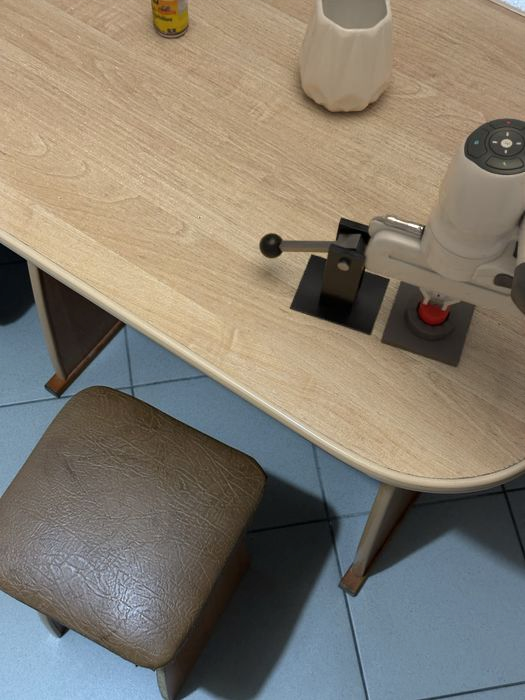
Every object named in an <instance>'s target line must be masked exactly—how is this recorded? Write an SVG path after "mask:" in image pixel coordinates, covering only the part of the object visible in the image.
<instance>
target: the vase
mask: <svg viewBox="0 0 525 700" xmlns="http://www.w3.org/2000/svg"><path fill="white" fill-rule="evenodd" d="M391 8H392V7H391V1H390V0H315V1H314V3H313V6H312V10H311V12H310V16H309V20H308V23H307V27H306V29H305V33H304V36H303V40H302V44H301V49H300V52H299V55H298V66H299V73H300V82H301V88H302V90H303V92H304V94H305V95H306V96H307V97H308V98H310V99H312V101H314V102H315V103H316V104H317V105H320V106H322V107H324V108H325V109H326V110H328V111H329V112H331V113H332V112H347V113H348V112H361V111H363V110H364V109H366V108H367V107H368V106H369V104H372V103H375V102H377V101H378V99H379V98H380V96H381V94H382V93H383V92H385V91H386V90H387V89H388V88H389V87H390V84H391V80H392V72H393V64H394V58H395V51H394V50H395V49H394V19H393V12H392V9H391Z"/></svg>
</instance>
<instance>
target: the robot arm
mask: <svg viewBox="0 0 525 700" xmlns="http://www.w3.org/2000/svg"><path fill="white" fill-rule="evenodd" d="M368 226H369V228H368V232H369V235H370V236H371V238H370V240H369V243H368V245H367V248H366V251H365V253H364V254H365V256H366V258H365V262H364V267H365V268H366V269H365V270H367V271H368V272H370V273H374V274H377V275H380V276H383V277H386V278H389V279H394V280H396V281H399V282H401V281H402V282H405V283H409V284H412V285H415V286H418V287H420V288H419V289H420V291H421V292H422V294H423V296H424V297H425V298H424V301H423V304H426V305H429V306H432V307H435V308H438V309H441V310H444V311H446V309H447V306H448V305H452V304H455V303H458V302H460V301H464V302H467V303H470V304H473V305H475V306H477V307H480V308H483V309H486V310H489V311H492V312H495V313H498V314H502V315H505V316H508V317H511V318H514V319H522V318H525V121H524V120H522V119H518V118H510V117H500V118H494V119H491V120H488V121H486V122H484V123H482V124H480V125H478V126H477V127H476V128H474V129H473V130H471V131H470V132H469V133H468V134H467V135H466V136H465V137H464V139H463V140H462V141H461V143H460V145H459V146H458V147H457V149H456V150H455V152H454V154H453V155H452V157H451V160H450V161H449V164H448V165H447V168H446V170H445V172H444V175H443V177H442V180H441V183H440V186H439V189H438V198H437V199H436V201H435V202H434V203H433V205H432V207H431V210H430V213H429V215H428V218H427V221H426V224H421V223H419V222H415V221H412V220H407V219H403V218H400V217H398V216H396V215H394V214H393V215H392V214H386V215H385V216H384V215H378V216H373V217H372V218H371V219H370V221H369V223H368Z"/></svg>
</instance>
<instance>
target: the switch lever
mask: <svg viewBox="0 0 525 700" xmlns="http://www.w3.org/2000/svg"><path fill="white" fill-rule="evenodd" d="M331 243H332V244H335V245H338V246H341V247H344V248H348V249H351V250H354V251H357V252H360V253H363V254H364V253H365V250H366V247H367V246H366V244H365V242H364V240H363V238H362V236H361V234H340V235H339V237H338V240H337V241H335V240H294V239H293V240H292V239H291V240H290V239H287V240H286V239H283V237H282V236H280V235H279V233H278V234H277V233H274V232H269V233H266V234H265V235H263V236H262V237H261V239H260V240H259V244H258V247H259V251H260V253H261V254H262V256H263V257H265V258H266V259H271V260H272V259H276V258H279V257H280V256H281V255H282V254H283V253H322V254H323V253H324V254H328V250H329V247H330V244H331Z"/></svg>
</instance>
